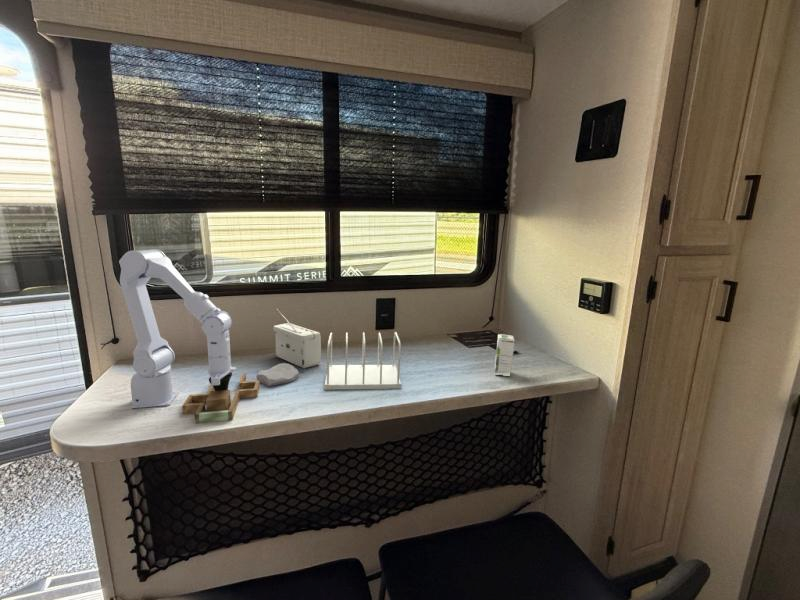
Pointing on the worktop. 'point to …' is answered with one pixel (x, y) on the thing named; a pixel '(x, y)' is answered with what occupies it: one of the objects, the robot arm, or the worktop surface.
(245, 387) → the trap lane
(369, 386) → the file sorter
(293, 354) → the stereo radio cassette player
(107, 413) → the worktop surface
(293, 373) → the stone block
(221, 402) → the walnut block
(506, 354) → the syrup box
